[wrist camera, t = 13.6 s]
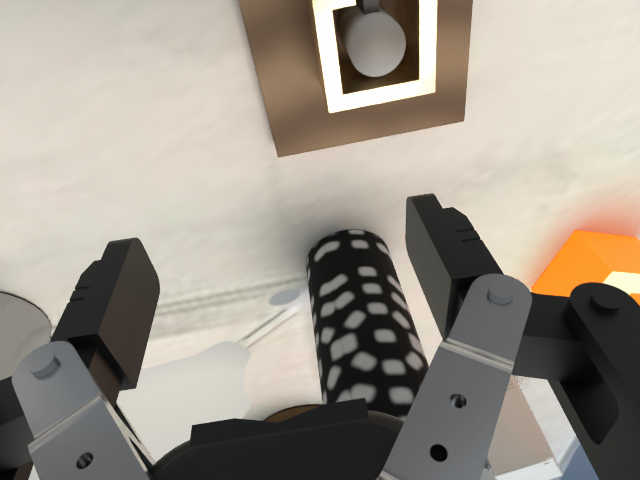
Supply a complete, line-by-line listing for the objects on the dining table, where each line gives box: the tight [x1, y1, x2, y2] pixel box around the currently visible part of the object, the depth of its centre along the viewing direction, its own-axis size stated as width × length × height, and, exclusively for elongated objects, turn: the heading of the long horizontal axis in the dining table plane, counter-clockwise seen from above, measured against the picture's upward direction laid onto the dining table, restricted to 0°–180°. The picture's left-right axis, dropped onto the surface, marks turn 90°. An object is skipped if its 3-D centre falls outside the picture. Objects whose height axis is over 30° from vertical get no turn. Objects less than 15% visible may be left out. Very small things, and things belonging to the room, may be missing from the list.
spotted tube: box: [306, 230, 429, 421], centre depth 35 cm, size 8×8×20 cm
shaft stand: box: [238, 0, 473, 158], centre depth 25 cm, size 16×14×7 cm
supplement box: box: [487, 375, 562, 480], centre depth 56 cm, size 7×7×13 cm
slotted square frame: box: [307, 0, 437, 113], centre depth 24 cm, size 6×6×5 cm
